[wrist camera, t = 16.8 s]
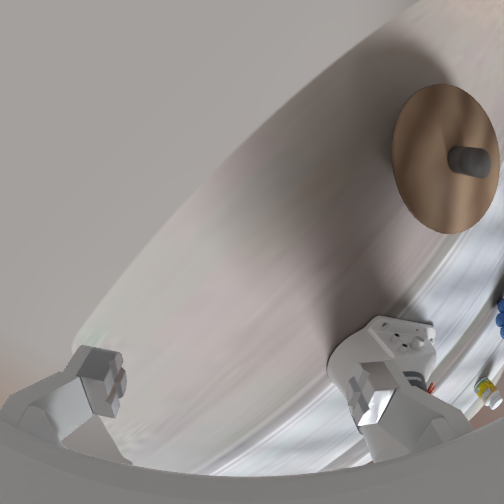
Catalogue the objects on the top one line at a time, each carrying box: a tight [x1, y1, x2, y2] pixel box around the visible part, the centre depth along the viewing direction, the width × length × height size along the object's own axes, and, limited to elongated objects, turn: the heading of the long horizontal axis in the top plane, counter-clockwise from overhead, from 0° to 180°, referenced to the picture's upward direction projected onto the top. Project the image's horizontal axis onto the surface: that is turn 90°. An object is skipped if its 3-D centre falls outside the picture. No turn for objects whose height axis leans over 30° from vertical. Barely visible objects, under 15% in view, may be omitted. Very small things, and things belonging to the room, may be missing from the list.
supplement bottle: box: [474, 377, 502, 410], centre depth 53 cm, size 5×5×10 cm
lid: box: [392, 84, 500, 234], centre depth 28 cm, size 20×20×6 cm
